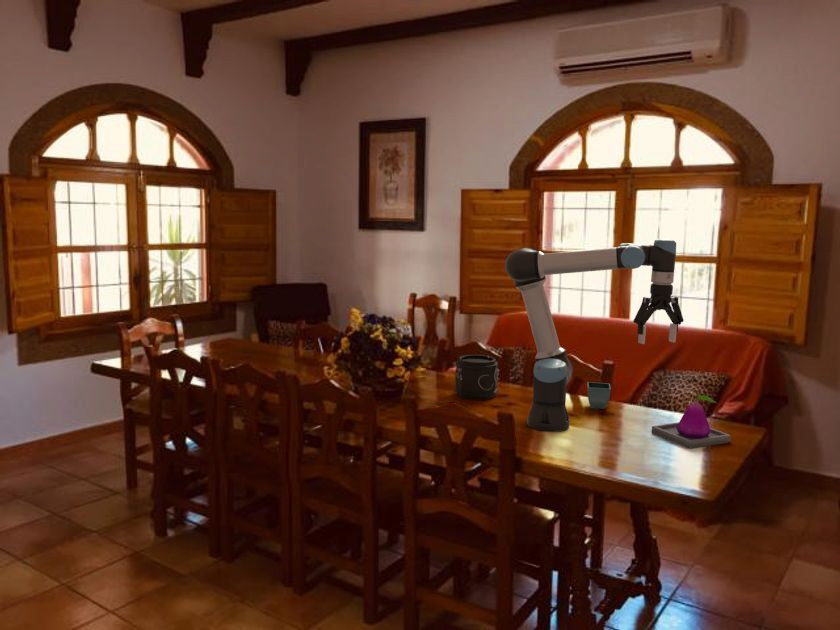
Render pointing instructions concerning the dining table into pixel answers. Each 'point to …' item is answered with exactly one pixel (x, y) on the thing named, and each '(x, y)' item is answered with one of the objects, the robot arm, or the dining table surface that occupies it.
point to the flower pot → (598, 394)
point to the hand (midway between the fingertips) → (656, 342)
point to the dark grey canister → (476, 377)
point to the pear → (695, 420)
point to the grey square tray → (672, 435)
